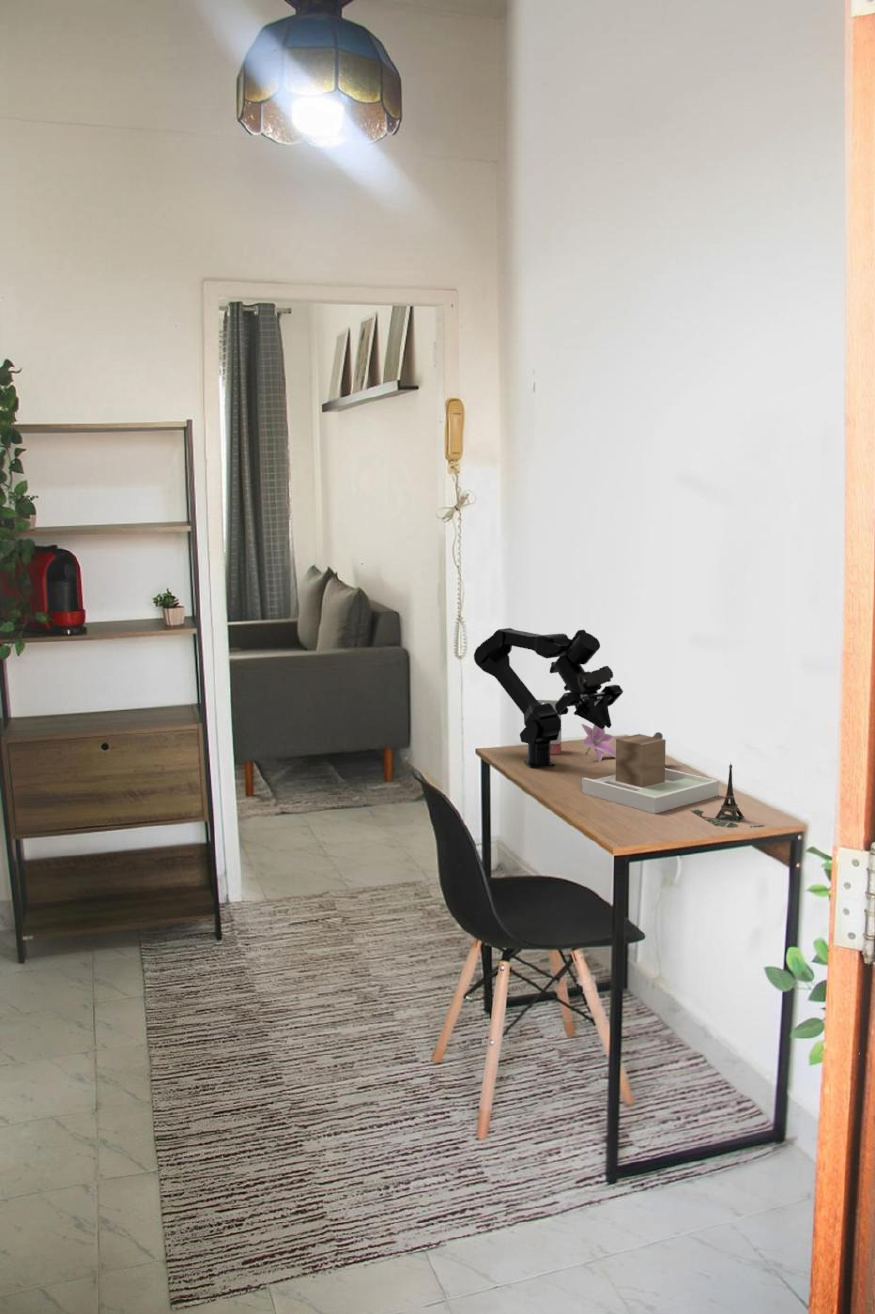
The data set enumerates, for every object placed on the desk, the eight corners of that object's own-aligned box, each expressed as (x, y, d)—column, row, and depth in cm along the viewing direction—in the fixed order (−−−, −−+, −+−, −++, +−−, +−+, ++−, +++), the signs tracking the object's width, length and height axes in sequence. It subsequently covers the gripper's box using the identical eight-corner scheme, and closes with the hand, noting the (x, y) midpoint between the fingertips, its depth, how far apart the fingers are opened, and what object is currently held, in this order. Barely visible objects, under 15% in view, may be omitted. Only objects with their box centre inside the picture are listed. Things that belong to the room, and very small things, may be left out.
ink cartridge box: (561, 750, 299) (562, 697, 297) (559, 754, 294) (559, 700, 292) (530, 749, 301) (530, 696, 299) (527, 753, 296) (527, 699, 294)
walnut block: (615, 780, 258) (616, 738, 256) (638, 775, 263) (639, 734, 261) (641, 787, 251) (642, 744, 250) (664, 781, 256) (665, 739, 255)
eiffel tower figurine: (688, 812, 242) (690, 753, 240) (730, 808, 245) (731, 750, 243) (722, 832, 228) (724, 769, 226) (766, 828, 230) (768, 766, 228)
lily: (574, 766, 286) (590, 737, 282) (562, 740, 296) (578, 711, 291) (613, 776, 290) (630, 748, 285) (601, 750, 299) (617, 722, 295)
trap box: (582, 792, 257) (582, 778, 256) (645, 777, 270) (645, 763, 270) (655, 813, 240) (655, 798, 239) (718, 795, 253) (718, 780, 253)
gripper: (563, 659, 259) (597, 712, 253) (617, 652, 271) (651, 702, 264) (540, 688, 267) (572, 740, 260) (594, 679, 278) (626, 729, 271)
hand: (606, 727), depth 264 cm, fingers closed
